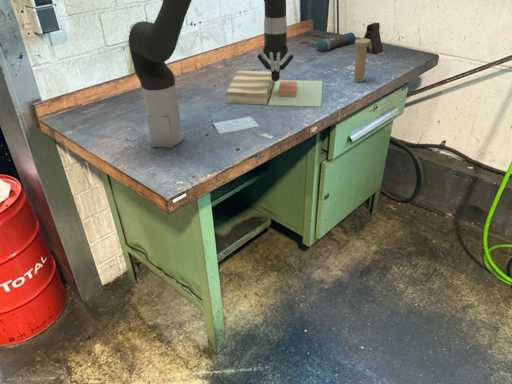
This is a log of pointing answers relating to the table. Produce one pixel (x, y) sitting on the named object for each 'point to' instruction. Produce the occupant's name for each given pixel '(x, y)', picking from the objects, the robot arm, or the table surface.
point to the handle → (360, 58)
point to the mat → (299, 94)
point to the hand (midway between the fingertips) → (275, 80)
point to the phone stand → (374, 38)
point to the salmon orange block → (287, 89)
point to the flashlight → (335, 41)
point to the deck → (250, 87)
